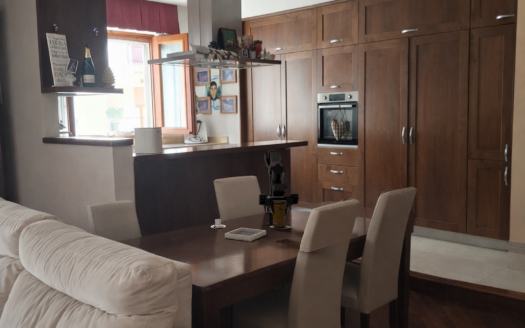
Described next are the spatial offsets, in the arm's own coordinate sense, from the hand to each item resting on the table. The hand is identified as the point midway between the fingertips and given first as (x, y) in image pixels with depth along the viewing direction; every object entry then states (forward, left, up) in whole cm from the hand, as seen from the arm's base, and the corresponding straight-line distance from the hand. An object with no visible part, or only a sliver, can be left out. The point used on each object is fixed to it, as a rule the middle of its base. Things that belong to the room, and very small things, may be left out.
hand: (279, 213), depth 237 cm
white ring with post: (-8, -44, -13) cm, 47 cm away
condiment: (-1, 0, -7) cm, 7 cm away
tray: (+2, -18, -12) cm, 22 cm away
